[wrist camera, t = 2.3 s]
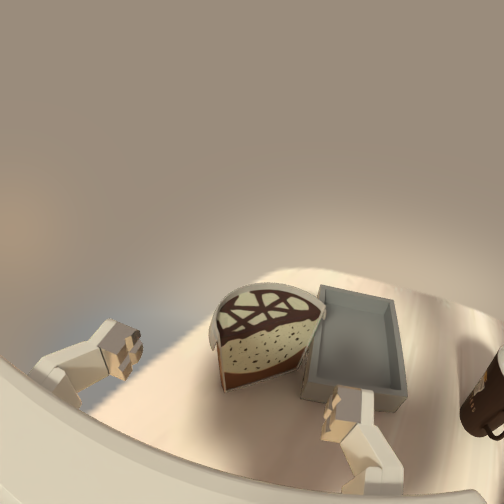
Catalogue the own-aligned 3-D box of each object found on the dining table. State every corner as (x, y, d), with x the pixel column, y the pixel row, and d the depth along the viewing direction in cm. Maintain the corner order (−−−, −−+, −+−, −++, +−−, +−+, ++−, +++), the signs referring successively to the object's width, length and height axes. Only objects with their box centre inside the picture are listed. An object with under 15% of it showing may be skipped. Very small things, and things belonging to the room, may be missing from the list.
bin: (385, 317, 44) (393, 300, 42) (394, 412, 29) (407, 396, 27) (315, 302, 46) (320, 284, 44) (300, 398, 31) (307, 381, 29)
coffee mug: (472, 384, 32) (510, 334, 27) (505, 420, 25) (550, 373, 20) (429, 425, 27) (476, 373, 22) (467, 470, 21) (524, 426, 15)
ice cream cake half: (284, 332, 40) (298, 271, 35) (308, 365, 35) (330, 304, 30) (194, 355, 35) (192, 291, 30) (211, 396, 30) (212, 335, 25)
